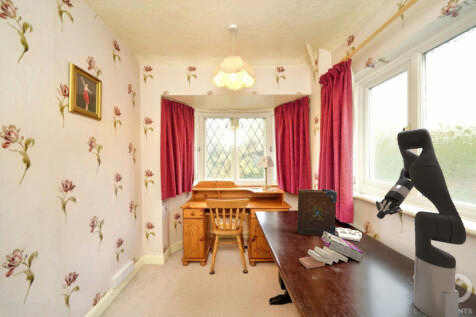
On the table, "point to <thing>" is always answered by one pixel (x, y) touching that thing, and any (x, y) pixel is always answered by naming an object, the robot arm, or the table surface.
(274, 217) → the table surface
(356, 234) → the white brass knuckles
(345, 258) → the domino
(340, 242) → the candy bar box
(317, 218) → the decorative book
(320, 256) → the domino
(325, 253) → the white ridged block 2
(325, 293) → the table surface
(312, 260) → the domino
